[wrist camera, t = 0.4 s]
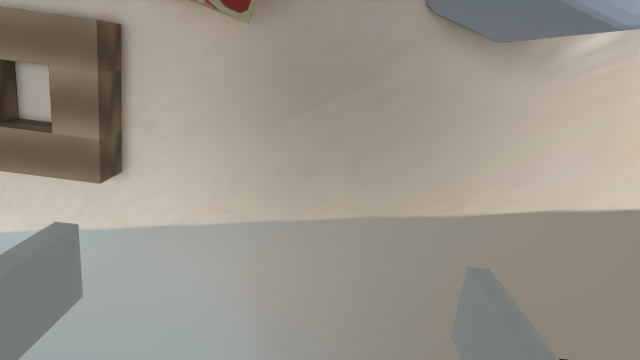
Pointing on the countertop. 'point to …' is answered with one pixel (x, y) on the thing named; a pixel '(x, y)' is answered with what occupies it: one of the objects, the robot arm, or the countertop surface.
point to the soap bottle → (539, 17)
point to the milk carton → (231, 7)
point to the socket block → (62, 97)
